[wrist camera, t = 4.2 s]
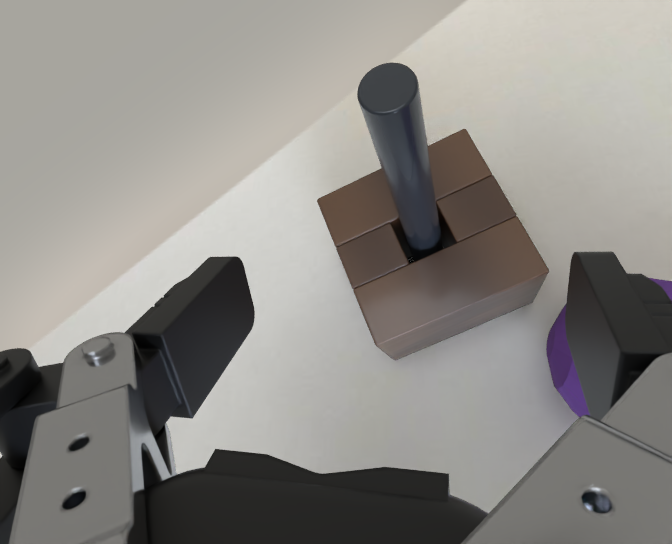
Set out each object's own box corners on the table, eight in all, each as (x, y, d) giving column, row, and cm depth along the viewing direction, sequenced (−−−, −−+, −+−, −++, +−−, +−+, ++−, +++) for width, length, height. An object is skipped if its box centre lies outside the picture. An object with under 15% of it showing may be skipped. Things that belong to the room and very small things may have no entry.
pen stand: (394, 360, 23) (375, 346, 18) (343, 239, 25) (316, 199, 21) (533, 302, 22) (550, 271, 17) (466, 182, 24) (465, 127, 20)
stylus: (424, 286, 23) (369, 124, 11) (413, 262, 24) (347, 79, 11) (450, 274, 23) (428, 95, 10) (438, 250, 24) (402, 51, 11)
